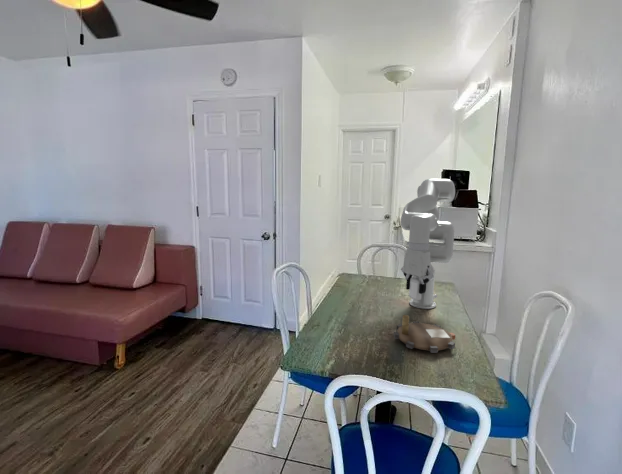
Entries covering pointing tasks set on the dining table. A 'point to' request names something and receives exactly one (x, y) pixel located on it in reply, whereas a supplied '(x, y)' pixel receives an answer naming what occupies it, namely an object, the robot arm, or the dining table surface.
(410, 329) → the sprocket
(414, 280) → the eye dropper bottle
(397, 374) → the dining table surface
